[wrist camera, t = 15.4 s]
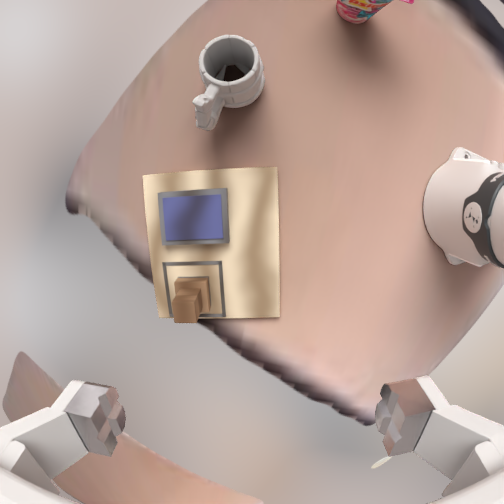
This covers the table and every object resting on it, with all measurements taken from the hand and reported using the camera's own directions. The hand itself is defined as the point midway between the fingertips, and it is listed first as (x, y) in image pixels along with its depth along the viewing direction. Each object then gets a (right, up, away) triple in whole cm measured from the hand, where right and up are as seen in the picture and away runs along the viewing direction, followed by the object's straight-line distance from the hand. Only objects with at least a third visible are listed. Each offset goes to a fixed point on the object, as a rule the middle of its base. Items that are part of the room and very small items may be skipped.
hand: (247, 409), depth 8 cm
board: (-5, +5, +34) cm, 35 cm away
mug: (-3, +25, +29) cm, 38 cm away
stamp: (-8, -1, +35) cm, 36 cm away
